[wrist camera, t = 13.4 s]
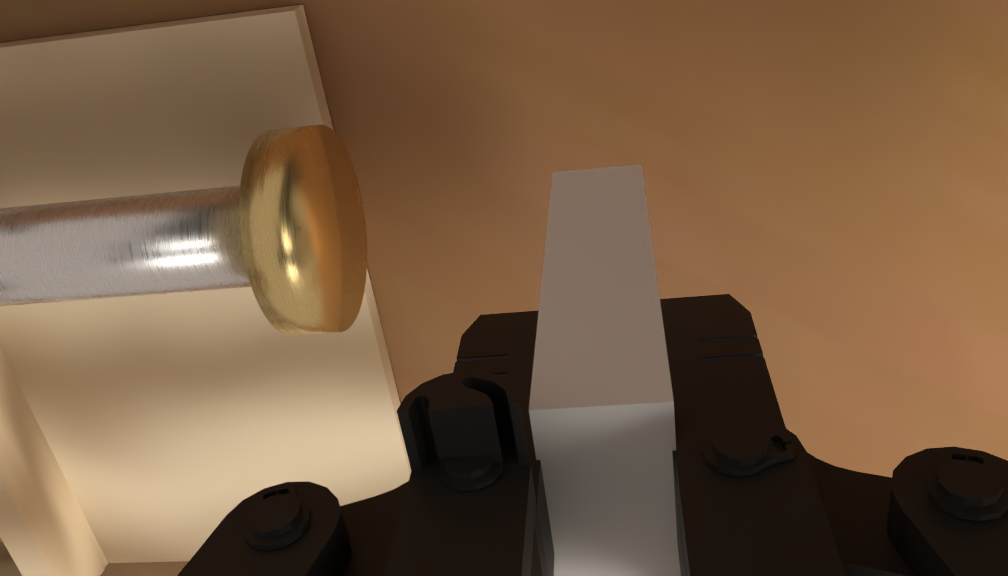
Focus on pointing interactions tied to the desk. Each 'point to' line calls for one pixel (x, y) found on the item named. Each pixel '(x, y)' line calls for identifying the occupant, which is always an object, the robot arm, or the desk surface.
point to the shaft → (209, 239)
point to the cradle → (168, 309)
